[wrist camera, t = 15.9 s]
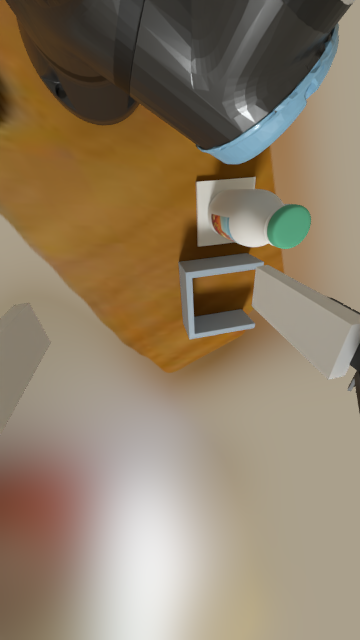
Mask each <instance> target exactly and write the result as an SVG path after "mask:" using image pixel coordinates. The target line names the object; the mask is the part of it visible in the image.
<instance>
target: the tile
mask: <svg viewBox="0 0 360 640" xmlns="http://www.w3.org/2000/svg"><path fill="white" fill-rule="evenodd" d="M255 180H256V177H249V178H237V179H225V180H213V181H201V182H196V208H197V246H198V247H201V246H209V245H217V244H225V243H233V241H231V240H229V239H227V238H225V237H223V236H221V235H219V234H217V233H216V232H214V231H213V230H212V228H211V227H210V225H209V222H208V209H209V206H210V203H211V201H212V200H213V198H214V197H215V196H216V195H217V194H219V193H220V192H222V191H225V190H232V189H255Z"/></svg>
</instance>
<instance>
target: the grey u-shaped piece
mask: <svg viewBox="0 0 360 640" xmlns="http://www.w3.org/2000/svg"><path fill="white" fill-rule="evenodd" d="M263 265H264V262H263V261H261V260H259V259H257V258H255V257H254V256H252V255H250V254H248V253H243V254H236V255H228V256H220V257H213V258H205V259H197V260H190V261H182V262H179V274H180V287H181V300H182V313H183V323H184V326H185V329H186V331H187V334H188V336H189V339H194V338H200V337H206V336H211V335H217V334H222V333H228V332H234V331H239V330H245V329H250V328H254V325H255V323H254V322H253V321H252V320H251V319H250V318H249V317H248V316H247V314H246V313H245V312H244V311H243V310H242V309H239V310H233V311H227V312H221V313H215V314H209V315H203V316H196V317H194V307H193V284H192V278H196V277H203V276H210V275H218V274H225V273H232V272H239V271H246V270H253V269H256V267H258V266H263Z"/></svg>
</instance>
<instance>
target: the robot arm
mask: <svg viewBox="0 0 360 640" xmlns="http://www.w3.org/2000/svg"><path fill="white" fill-rule="evenodd" d="M354 1H355V0H6V2H7V3H8V5H9V6H10V8H11V9H12V11H13V12H14V14H15V15H16V17H17V22H18V26H19V30H20V34H21V37H22V40H23V43H24V46H25V48H26V51H27V53H28V55H29V58H30V60H31V62H32V64H33V66H34V68H35V69H36V71H37V73H38V75H39V76H40V78H41V79H42V81H43V82H44V84H45V85H46V86H47V88H48V89H49V90H50V92H51V93H52V94H53V95H54V96H55V98H56V99H57V100H58V101H59V102H60V103H61V104H62V105H63V106H64V107H65V108H66V109H67V110H69V111H70V112H71V113H72V114H74V115H75V116H77V117H79V118H80V119H82V120H84V121H87V122H89V123H93V124H97V125H112V124H116V123H118V122H121V121H123V120H124V119H126V118H127V117H129V116H130V115H131V114H132V113H133V112H134V111H135V109H136V108H137V107H138V105H139V103H140V104H141V105H143V106H144V107H145V108H147V109H148V110H150V111H151V112H152V113H154V114H155V115H157V116H158V117H159V118H161V119H162V120H163V121H165V122H166V123H168V124H169V125H170V126H172V127H173V128H175V129H176V130H177V131H179V132H180V133H181V134H183V135H184V136H186V137H187V138H188V139H190V140H191V141H193V142H194V143H195V144H196V147H197V148H198V149H199V150H201V151H202V152H206V153H209V154H211V155H213V156H214V157H216V158H217V159H219V160H220V161H222V162H224V163H226V164H241V163H244V162H246V161H248V160H250V159H252V158H254V157H255V156H257V155H258V154H260V153H261V152H262V151H264V150H265V149H266V148H267V147H268V146H270V145H271V144H272V143H273V142H274V141H275V140H276V139H277V138H278V137H279V136H280V135H281V134H282V133H283V132H284V131H285V130H286V129H287V128H288V127H289V126H290V125H291V124H292V123H293V121H294V120H295V119H296V118H297V116H298V115H299V114H300V113H301V111H302V110H303V109H304V108H305V106H306V103H307V102H306V99H307V98H308V97H309V96H310V95H311V94H313V93H314V92H315V91H316V90H317V89H318V88H319V86H320V84H321V83H322V81H323V79H324V78H325V76H326V74H327V73H328V71H329V69H330V67H331V64H332V61H333V59H334V57H335V54H336V51H337V47H338V41H339V39H338V38H339V36H338V28H339V26H338V21H339V20H340V19H341V17H342V16H343V15H344V14H345V13H346V11H347V10H348V9H349V7H350V6H351V5H352V4H353V2H354ZM252 307H253V308H254V309H255V310H256V311H257V312H259V313H260V314H261V315H262V316H263V317H264V318H265V319H266V320H267V321H268V322H269V323H270V324H271V325H272V326H273V327H274V328H275V329H276V330H277V331H278V332H279V333H280V334H281V335H282V336H284V337H285V339H287V340H288V341H289V342H290V343H291V344H292V345H293V346H294V347H295V348H296V349H297V350H298V351H299V352H300V353H301V354H302V355H303V356H304V357H305V358H306V359H307V360H308V361H309V362H310V363H311V364H313V365H314V366H315V367H316V368H317V369H318V370H319V371H320V372H321V373H322V374H323V375H324V376H325V377H326V378H327V379H333V378H337V377H341V376H345V373H346V372H347V370H348V368H349V366H350V365H351V366H352V367H353V368H355V369H356V370H357V372H356V373H355V375H354V377H353V379H352V381H351V383H350V385H349V387H348V391H351V390H352V388H353V387H355V386H356V393H357V399H358V406H359V412H360V313H359V312H357V311H356V310H354V309H353V310H352V309H351V308H350V307H348V306H346V305H343V304H342V303H341V302H339V301H337V300H335V299H333V298H329V297H326V296H324V295H322V294H320V293H319V292H317V291H315V290H313V289H311V288H309V287H307V286H306V285H304V284H302V283H300V282H298V281H296V280H294V279H293V278H291V277H289V276H287V275H285V274H284V273H282V272H280V271H278V270H276V269H274V268H273V267H271V266H269V265H265V266H258V267H256V273H255V282H254V291H253V300H252ZM50 343H51V342H50V340H49V338H48V336H47V334H46V332H45V331H44V329H43V327H42V325H41V323H40V322H39V320H38V318H37V316H36V314H35V312H34V311H33V309H32V307H31V305H30V303H24V304H18V305H14V306H13V307H12V308H11V309H10V310H9V311H7V312H6V313H5V314H4V315H3V316H2V317H1V318H0V435H1V433H2V431H3V429H4V427H5V426H6V424H7V422H8V420H9V418H10V417H11V415H12V413H13V411H14V409H15V407H16V406H17V404H18V402H19V400H20V398H21V396H22V394H23V393H24V391H25V389H26V387H27V385H28V383H29V382H30V380H31V378H32V376H33V374H34V373H35V371H36V369H37V367H38V365H39V363H40V362H41V359H42V358H43V356H44V354H45V352H46V350H47V349H48V347H49V345H50Z"/></svg>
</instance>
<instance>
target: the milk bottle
mask: <svg viewBox="0 0 360 640" xmlns="http://www.w3.org/2000/svg"><path fill="white" fill-rule="evenodd" d="M208 222H209V225H210V227H211V228H212V230H213V231H214V232H216V233H217V234H219V235H221V236H223V237H225V238H227V239H229V240H231V241H233V242H236V243H238V244H241V245H243V246H247V247H259V246H263V245H266V244H268V243H269V244H271V245H273V246H276V247H278V248H282V249H289V248H292V247H295V246H296V245H298V244H299V243H300V242H301V241H302V240H303V239H304V238H305V236H306V235H307V233H308V231H309V228H310V224H311V216H310V213H309V211H308V210H307V209H306V208H305V207H303V206H301V205H296V204H283V202H282V201H281V199H280V198H279V197H278V196H277V195H275V194H274V193H272V192H270V191H266V190H261V189H232V190H225V191H222V192H220V193H219V194H217V195H216V196H215V197H214V198H213V200H212V201H211V203H210V206H209V209H208Z"/></svg>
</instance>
